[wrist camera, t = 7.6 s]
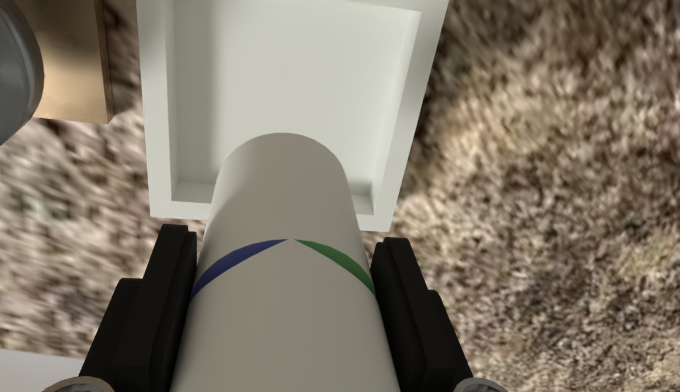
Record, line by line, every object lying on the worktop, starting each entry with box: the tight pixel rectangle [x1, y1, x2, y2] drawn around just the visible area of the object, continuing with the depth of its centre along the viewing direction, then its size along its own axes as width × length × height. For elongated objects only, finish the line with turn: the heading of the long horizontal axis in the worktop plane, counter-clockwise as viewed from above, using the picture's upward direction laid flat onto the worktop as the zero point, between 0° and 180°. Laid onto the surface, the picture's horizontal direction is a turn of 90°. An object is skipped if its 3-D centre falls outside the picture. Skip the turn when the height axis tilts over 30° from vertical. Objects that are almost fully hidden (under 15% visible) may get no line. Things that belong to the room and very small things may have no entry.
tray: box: [136, 0, 449, 232], centre depth 21 cm, size 12×12×2 cm
